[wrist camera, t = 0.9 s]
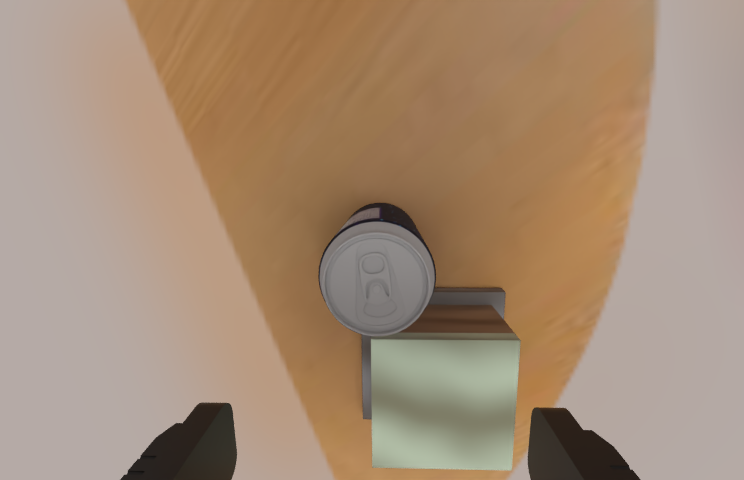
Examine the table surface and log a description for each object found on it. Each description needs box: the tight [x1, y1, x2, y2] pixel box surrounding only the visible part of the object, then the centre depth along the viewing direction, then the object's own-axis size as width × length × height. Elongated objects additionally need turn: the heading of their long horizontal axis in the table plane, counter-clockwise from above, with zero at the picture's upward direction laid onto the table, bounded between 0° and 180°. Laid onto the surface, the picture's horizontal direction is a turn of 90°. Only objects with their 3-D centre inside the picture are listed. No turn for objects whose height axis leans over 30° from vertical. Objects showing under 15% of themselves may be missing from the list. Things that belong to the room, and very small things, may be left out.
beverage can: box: [319, 203, 436, 336], centre depth 22 cm, size 6×6×12 cm
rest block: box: [362, 288, 521, 470], centre depth 26 cm, size 11×11×7 cm
